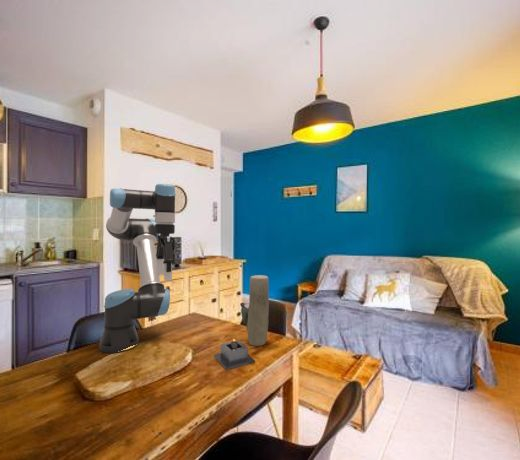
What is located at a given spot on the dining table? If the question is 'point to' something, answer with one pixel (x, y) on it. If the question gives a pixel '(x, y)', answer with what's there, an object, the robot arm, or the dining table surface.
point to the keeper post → (236, 364)
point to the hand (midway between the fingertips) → (164, 277)
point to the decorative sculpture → (257, 310)
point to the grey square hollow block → (234, 352)
